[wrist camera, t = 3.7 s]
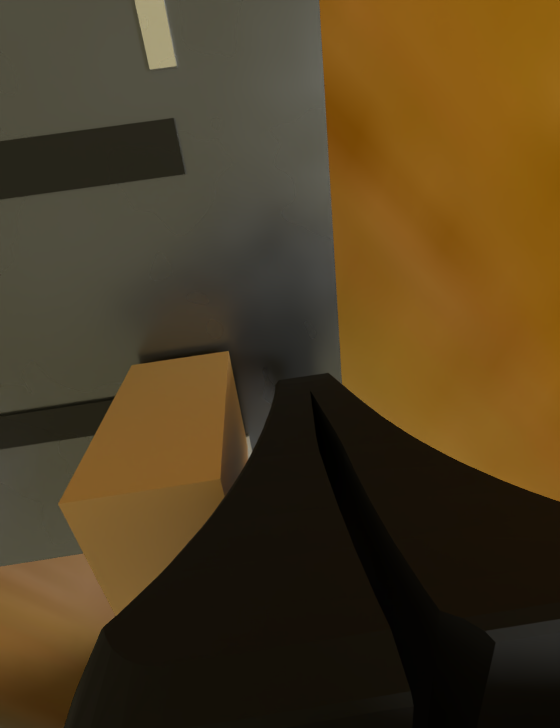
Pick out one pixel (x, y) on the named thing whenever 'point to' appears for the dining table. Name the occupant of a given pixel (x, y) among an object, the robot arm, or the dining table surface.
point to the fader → (155, 470)
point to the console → (152, 221)
